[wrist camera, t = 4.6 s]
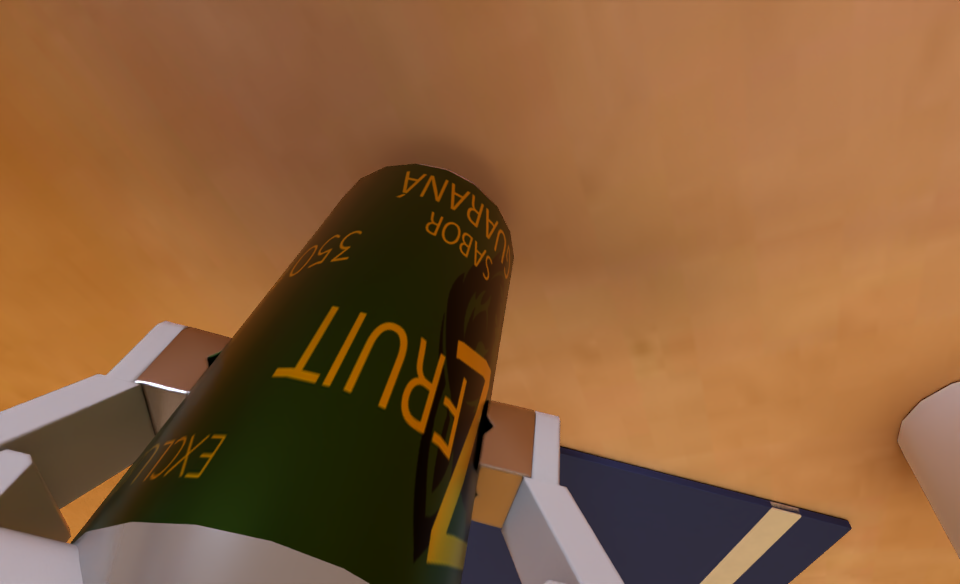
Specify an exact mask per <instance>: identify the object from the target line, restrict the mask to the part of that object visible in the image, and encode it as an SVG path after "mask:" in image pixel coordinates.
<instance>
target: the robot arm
mask: <svg viewBox="0 0 960 584" xmlns="http://www.w3.org/2000/svg"><path fill="white" fill-rule="evenodd" d="M231 339H232V338H229V337H226V336H222V335H218V334H215V333H211V332H207V331H203V330H200V329H196V328H192V327H188V326H184V325H180V324H176V323H172V322H168V321H164V322H162V323H159V324H157V325H156V326H155V327H154V328H153V329H152V330H151V331H150V332H149V333H148V334H147V335H146V336H145V337H144V338H143V339H142V340H141V341H140V342H139V343H138V344H137V345H136V346H135V347H134V348H133V349H132V350H131V351H130V352H129V353H128V354H127V355H126V356H125V357H124V358H123V359H122V360H121V361H120V362H119V363H118V364H117V365H116V366H115V367H114V368H113V369H112V370H111V371H110V372H109V373H108V374H107V375H101V374H97V375H94V376H91V377H89V378H86V379H84V380H81V381H79V382H76V383H73V384H71V385H68V386H66V387H63V388H61V389H58V390H55V391H53V392H50V393H48V394H45V395H43V396H40V397H37V398H35V399H32V400H30V401H27V402H25V403H22V404H19V405H17V406H14V407H12V408H9V409H7V410H4V411H1V412H0V584H83V581H82V575H81V569H80V563H79V551H78V548H77V546H76V545H74V544H70V543H66V542H67V541H68V539H69V538H70V537H71V535H70V529H69V527H68V525H67V523H66V521H65V519H64V517H63V515H62V513H61V512H60V510H59V509H61V508H63V507H64V506H66V505H67V504H69V503H71V502H72V501H74V500H75V499H77V498H79V497H80V496H82V495H83V494H85V493H87V492H88V491H90V490H92V489H93V488H95V487H96V486H98V485H100V484H101V483H103V482H104V481H106V480H108V479H109V478H111V477H113V476H114V475H116V474H117V473H119V472H121V471H122V470H124V469H125V468H127V467H129V466H130V465H132V464H133V463H134V462H135V461H136V460H137V458H138V457H139V456H140V454H141V453H142V452H143V451H144V449H145V448H146V447H147V446H148V444H149V443H150V442H151V441H152V439H153V438H154V437H155V435H156V434H157V433H158V432H159V430H160V429H161V428H162V427H163V425H164V424H165V423H166V421H167V420H168V419H169V418H170V416H171V415H172V414H173V413H174V411H175V410H176V409H177V408H178V406H179V405H180V404H181V402H182V401H183V400H184V399H185V397H186V396H187V395H188V394H189V392H190V391H191V390H192V389H193V387H194V386H195V385H196V383H197V382H198V381H199V380H200V378H201V377H202V376H203V375H204V373H205V372H206V371H207V369H208V368H209V367H210V366H211V364H212V363H213V362H214V361H215V359H216V358H217V357H218V356H219V354H220V353H221V352H222V350H223V349H224V348H225V347H226V345H227V344H228V343H229V342H230V340H231ZM477 474H478V481H477V487H476V493H475V499H474V506H473V512H472V518H471V520H472V521H476V522H479V523H483V524H487V525H490V526H494V527H498V528H502V530H501V532H502V534H503V537H504V539H505V542H506V544H507V547H508V550H509V552H510V555H511V557H512V560H513V562H514V565H515V568H516V570H517V573H518V575H519V578H520V580H521V583H522V584H624V582H623V580H622V579H621V577H620V575H619V574H618V572H617V570H616V569H615V567H614V565H613V564H612V562H611V560H610V559H609V557H608V555H607V554H606V552H605V550H604V549H603V547H602V545H601V544H600V542H599V540H598V539H597V537H596V535H595V534H594V532H593V530H592V529H591V527H590V525H589V524H588V522H587V520H586V519H585V517H584V515H583V514H582V512H581V510H580V509H579V507H578V505H577V504H576V502H575V500H574V499H573V497H572V495H571V494H570V492H569V490H568V489H567V487H564V486H560V485H559V480H560V419H559V416H555V415H551V414H546V413H542V412H538V411H535V412H534V410H531V409H526V408H522V407H518V406H513V405H509V404H505V403H500V402H496V401H491V400H488V404H487V410H486V416H485V434H483V437H482V440H481V446H480V452H479V458H478V465H477Z"/></svg>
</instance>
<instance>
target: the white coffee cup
mask: <svg viewBox="0 0 960 584" xmlns="http://www.w3.org/2000/svg"><path fill="white" fill-rule="evenodd" d="M897 442H898V444H899V446H900V448H901V450H902V452H903V454H904V456H905V458H906V460H907V462H908V464H909V465H910V467H911V469H912V471H913V473H914V475H915V477H916V478H917V480H918V482H919V484H920V486H921V488H922V490H923V491H924V493H925V495H926V497H927V499H928V501H929V503H930V505H931V506H932V508H933V510H934V512H935V514H936V516H937V518H938V519H939V521H940V523H941V525H942V527H943V529H944V531H945V532H946V534H947V536H948V538H949V540H950V542H951V544H952V546H953V547H954V549H955V551H956V553H957V555H958V557H959V559H960V382H957V383H953V384H950V385H949V386H947V387H945V388H943V389H942V390H940V391H938V392H936V393H934V394H933V395H931V396H929V397H927V398H926V399H924V400H922V401H920V403H919V404H918V405H917V406H916V407H915V408H914V409H913V410H912V411H911V412H910V413H909V414H908V415H907V417H906V418H905V419H904V420H903V421H902V424H901V428H900V432H899V436H898V440H897Z"/></svg>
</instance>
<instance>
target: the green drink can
mask: <svg viewBox="0 0 960 584" xmlns="http://www.w3.org/2000/svg"><path fill="white" fill-rule="evenodd" d="M513 259H514V255H513V248H512V241H511V234H510V230H509V229H508V227H507V225H506V223H505V221H504V219H503V217H502V215H501V213H500V211H499V209H498V207H497V206H496V205H495V204H494V203H493V202H492V201H491V200H490V199H489V198H488V197H487V196H486V195H485V194H484V193H483V192H482V191H481V190H480V189H479V188H478V187H477V186H476V185H475V184H474V183H473V182H472V181H470V180H468V179H466V178H464V177H462V176H461V175H459V174H457V173H455V172H453V171H451V170H449V169H445V168H440V167H435V166H430V165H425V164H408V165H398V166H388V167H384V168H382V169H380V170H378V171H376V172H374V173H372V174H370V175H367V176H365V177H363V178H361V179H360V180H359V181H358V182H357V183H356V184H355V185H354V186H353V187H352V189H351V190H350V191H349V192H348V193H347V194H346V195H345V196H344V197H343V198H342V199H341V201H340V202H339V203H338V205H337V206H336V207H335V208H334V210H333V211H332V212H331V213H330V215H329V216H328V217H327V219H326V220H325V221H324V222H323V224H322V225H321V226H320V227H319V229H318V230H317V231H316V232H315V234H314V235H313V236H312V238H311V239H310V240H309V241H308V243H307V244H306V245H305V246H304V248H303V249H302V250H301V251H300V253H299V254H298V255H297V257H296V258H295V259H294V260H293V262H292V263H291V264H290V265H289V267H288V268H287V269H286V271H285V272H284V273H283V274H282V276H281V277H280V278H279V279H278V281H277V282H276V283H275V284H274V286H273V287H272V288H271V290H270V291H269V292H268V293H267V295H266V296H265V297H264V298H263V300H262V301H261V302H260V304H259V305H258V306H257V307H256V309H255V310H254V311H253V312H252V314H251V315H250V316H249V317H248V319H247V320H246V321H245V323H244V324H243V325H242V326H241V328H240V329H239V330H238V331H237V333H236V334H235V335H234V336H233V338H232V339H231V340H230V342H229V343H228V344H227V345H226V347H225V348H224V349H223V350H222V352H221V353H220V354H219V356H218V357H217V358H216V359H215V361H214V362H213V363H212V364H211V366H210V367H209V368H208V369H207V371H206V372H205V373H204V375H203V376H202V377H201V378H200V380H199V381H198V382H197V383H196V385H195V386H194V387H193V389H192V390H191V391H190V392H189V394H188V395H187V396H186V397H185V399H184V400H183V401H182V402H181V404H180V405H179V406H178V408H177V409H176V410H175V411H174V413H173V414H172V415H171V416H170V418H169V419H168V420H167V421H166V423H165V424H164V425H163V427H162V428H161V429H160V430H159V432H158V433H157V434H156V435H155V437H154V438H153V439H152V441H151V442H150V443H149V444H148V446H147V447H146V448H145V449H144V451H143V452H142V453H141V454H140V456H139V457H138V458H137V460H136V461H135V462H134V463H133V465H132V466H131V467H130V468H129V470H128V471H127V472H126V473H125V475H124V476H123V477H122V479H121V480H120V481H119V482H118V484H117V485H116V486H115V487H114V489H113V490H112V491H111V493H110V494H109V495H108V496H107V498H106V499H105V500H104V501H103V503H102V504H101V505H100V506H99V508H98V509H97V510H96V512H95V513H94V514H93V515H92V517H91V518H90V519H89V520H88V522H87V523H86V524H85V526H84V527H83V528H82V529H81V531H80V532H79V533H78V534H77V536H76V537H75V538H74V539H73V541H72V542H71V543H70V544H74V545H76V546H77V548H78V551H79V563H80V569H81V575H82V581H83V584H461V580H462V573H463V567H464V561H465V555H466V549H467V543H468V536H469V530H470V524H471V518H472V512H473V506H474V499H475V493H476V487H477V481H478V474H477V465H478V458H479V452H480V446H481V440H482V437H483V434H485V416H486V410H487V404H488V400H491V395H492V388H493V382H494V376H495V370H496V364H497V358H498V351H499V345H500V339H501V333H502V327H503V321H504V314H505V308H506V302H507V296H508V290H509V284H510V277H511V271H512V265H513Z"/></svg>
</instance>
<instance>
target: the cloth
mask: <svg viewBox="0 0 960 584" xmlns="http://www.w3.org/2000/svg"><path fill="white" fill-rule="evenodd" d="M559 485H560V486H564V487H567V489H568V490H569V492H570V494H571V495H572V497H573V499H574V500H575V502H576V504H577V505H578V507H579V509H580V510H581V512H582V514H583V515H584V517H585V519H586V520H587V522H588V524H589V525H590V527H591V529H592V530H593V532H594V534H595V535H596V537H597V539H598V540H599V542H600V544H601V545H602V547H603V549H604V550H605V552H606V554H607V555H608V557H609V559H610V560H611V562H612V564H613V565H614V567H615V569H616V570H617V572H618V574H619V575H620V577H621V579H622V580H623V582H624V584H788V583H789V582H791V581H792V580H793V579H794V578H795V577H796V576H798V575H799V574H800V573H801V572H802V571H803V570H805V569H806V568H807V567H808V566H809V565H810V564H811V563H813V562H814V561H815V560H816V559H817V558H818V557H820V556H821V555H822V554H823V553H824V552H825V551H827V550H828V549H829V548H830V547H831V546H832V545H833V544H835V543H836V542H837V541H838V540H839V539H840V538H842V537H843V536H844V535H845V534H846V533H847V532H849V531H850V530H851V526H850V524H849V522H848V521H846V520H842V519H838V518H835V517H831V516H827V515H823V514H819V513H815V512H811V511H807V510H803V509H800V508H796V507H792V506H788V505H784V504H780V503H776V502H772V501H769V500H765V499H761V498H757V497H753V496H749V495H745V494H741V493H738V492H734V491H730V490H726V489H722V488H718V487H714V486H710V485H707V484H703V483H699V482H695V481H691V480H687V479H683V478H679V477H675V476H672V475H668V474H664V473H660V472H656V471H652V470H648V469H644V468H641V467H637V466H633V465H629V464H625V463H621V462H617V461H613V460H610V459H606V458H602V457H598V456H594V455H590V454H586V453H582V452H579V451H575V450H571V449H567V448H563V447H560V480H559ZM501 530H502V528H498V527H494V526H490V525H487V524H483V523H479V522H476V521H472V520H471V524H470V530H469V536H468V543H467V549H466V555H465V561H464V567H463V573H462V580H461V584H522V583H521V580H520V578H519V575H518V573H517V570H516V568H515V565H514V562H513V560H512V557H511V555H510V552H509V550H508V547H507V544H506V542H505V539H504V537H503V534H502V532H501Z"/></svg>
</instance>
